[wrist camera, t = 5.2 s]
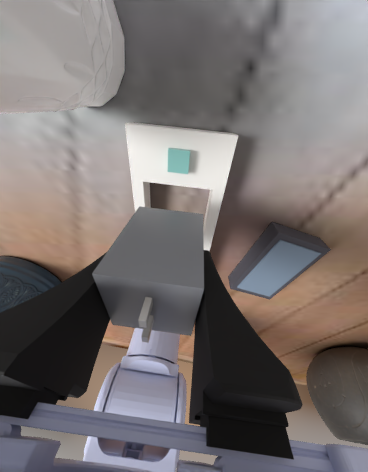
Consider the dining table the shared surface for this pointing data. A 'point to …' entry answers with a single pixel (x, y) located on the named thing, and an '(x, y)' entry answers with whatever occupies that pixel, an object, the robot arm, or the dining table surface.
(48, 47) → the white cup
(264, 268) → the phone
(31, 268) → the canister
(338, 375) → the bowl
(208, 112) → the dining table surface
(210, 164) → the white flat block
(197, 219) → the plug
